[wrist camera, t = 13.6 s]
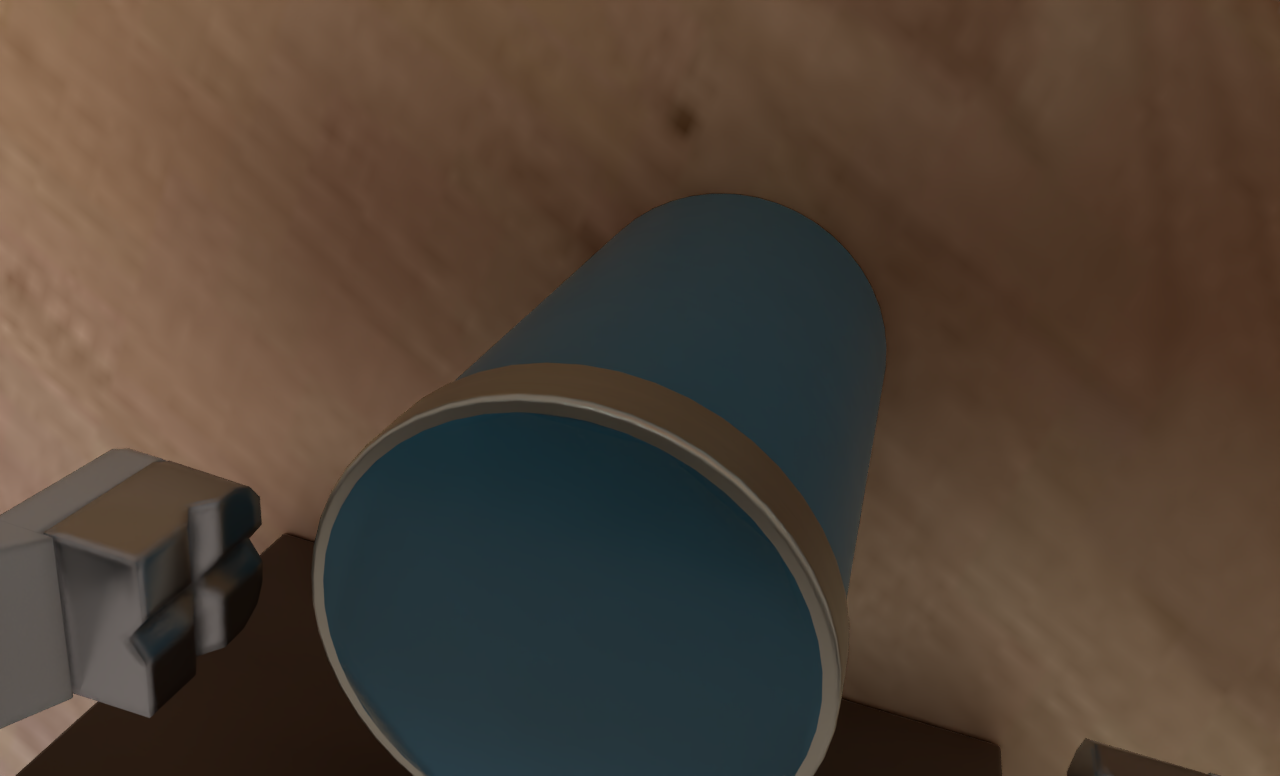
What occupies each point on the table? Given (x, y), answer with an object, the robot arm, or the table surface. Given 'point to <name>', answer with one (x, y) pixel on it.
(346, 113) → the table surface
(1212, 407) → the table surface
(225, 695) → the brown box
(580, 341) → the enamel canister
